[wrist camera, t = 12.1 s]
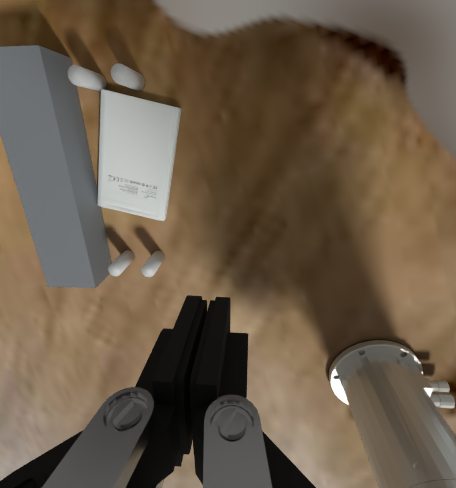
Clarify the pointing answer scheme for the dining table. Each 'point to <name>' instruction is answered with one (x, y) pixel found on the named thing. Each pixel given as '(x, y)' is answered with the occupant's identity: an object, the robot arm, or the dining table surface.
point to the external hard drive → (136, 154)
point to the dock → (59, 163)
